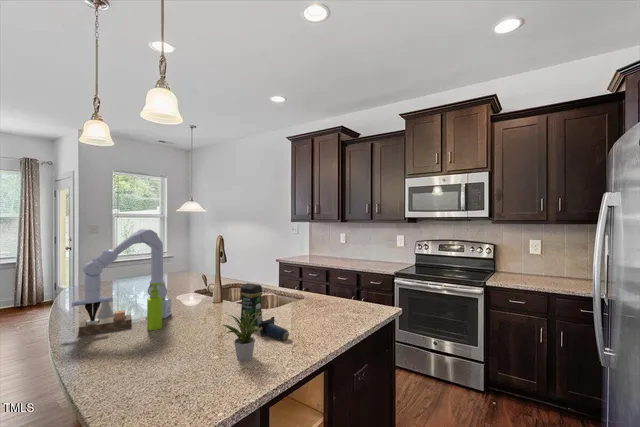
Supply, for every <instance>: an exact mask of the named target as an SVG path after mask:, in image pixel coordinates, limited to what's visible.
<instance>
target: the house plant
mask: <svg viewBox="0 0 640 427" xmlns="http://www.w3.org/2000/svg"><path fill="white" fill-rule="evenodd" d="M260 313H261V312H259V313H258V314H256V313H255V314H256V316H255V317H254V318H253V320H252V322H251V324H250V325H249V321H250V319H251V317H252V316H253V315H254V314H253V315H252V316H251V317H250V319H249V314H248V318H247V321H246V314H245V311H244V310H243V322H242V320H241V317H239V316H238V315H237V314H235V315H236V316H234V315H231V314H228V316H229V317H231V318H232V319H233V320H234V321H235V322H236V324H237V325H238V326H237V327H238V329H237V328H235V327H233V326H231V325H229V324H225V323H224V324H221V325H222V326H223V327H225V328H226V329H229V330H228V331H226V334H229V333H234V335H236V337H237V338H235V339H234V349H235V354H236V355H235V356H236V359H237V361H238V362H248V361H250V360H252V358H253V356H254V355H253V354H254V349H255V343H256V338H255V337H253V336H252V335H253V334H255V333H258V334H260V330H259V329H258V326H254V325H253V323H254V321H255V320H256V318H257V317H258V315H259V314H260ZM262 313H264V311H262ZM237 317H238V318H237ZM228 321H230V322H232V323H233V321H231V320H230V319H228ZM256 322H257V321H256ZM256 322H255V323H256ZM241 323H242V324H241ZM252 325H253V326H252Z"/></svg>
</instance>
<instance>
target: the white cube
mask: <svg viewBox="0 0 640 427" xmlns="http://www.w3.org/2000/svg"><path fill="white" fill-rule="evenodd" d="M86 321H87V325H90V324H96V323H99V318H97V317H96V318H95V321H91V320H90V319H87V320H86Z"/></svg>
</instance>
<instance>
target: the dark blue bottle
mask: <svg viewBox="0 0 640 427" xmlns="http://www.w3.org/2000/svg"><path fill="white" fill-rule="evenodd" d="M275 321H276V320H275V316H272V317H271V318H270V319H267V320H262V321H261V322H262V323H260V324H258V325H259V326H258V328H259V329H260V330H259V335H260V337H264V336H266V335H270V336H271V337H273V338H275V339H278V340H280V341H285V340H286V341H287V339H288V338H289V335H290V333H289V331H288V329H287V328H284V327H282V326H279V325H277V324H275Z"/></svg>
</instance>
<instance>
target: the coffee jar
mask: <svg viewBox="0 0 640 427" xmlns="http://www.w3.org/2000/svg"><path fill="white" fill-rule="evenodd" d="M262 294H263V287H262V285H261V284H256V283H249V282H247V283H244V284H242V285H241V287H240V296H241V297H240V298H241V308H240V310H241V311H240V319H241V320H242V322H243V310H244V311H245V314H246V321H247V318H248V314H249V319H250V317H251V316H252V315H253V314H254V315H253V316H252V317H251V319H250V321H249V325H250V324H251V322H252V320H253V318H254V317H255V316H256V314H258V313H259V312H261V313H260V314H259V315H258V317H257V318H256V320H255V321H254V323H253V325H254V326H257V327H259V325H258V324H260V323H262V322H261V321H263V312H262V296H263V295H262ZM255 313H256V314H255ZM256 321H257V322H256ZM255 322H256V323H255ZM240 323H241V322H240ZM241 324H242V323H241ZM253 325H252V326H253Z"/></svg>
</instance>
